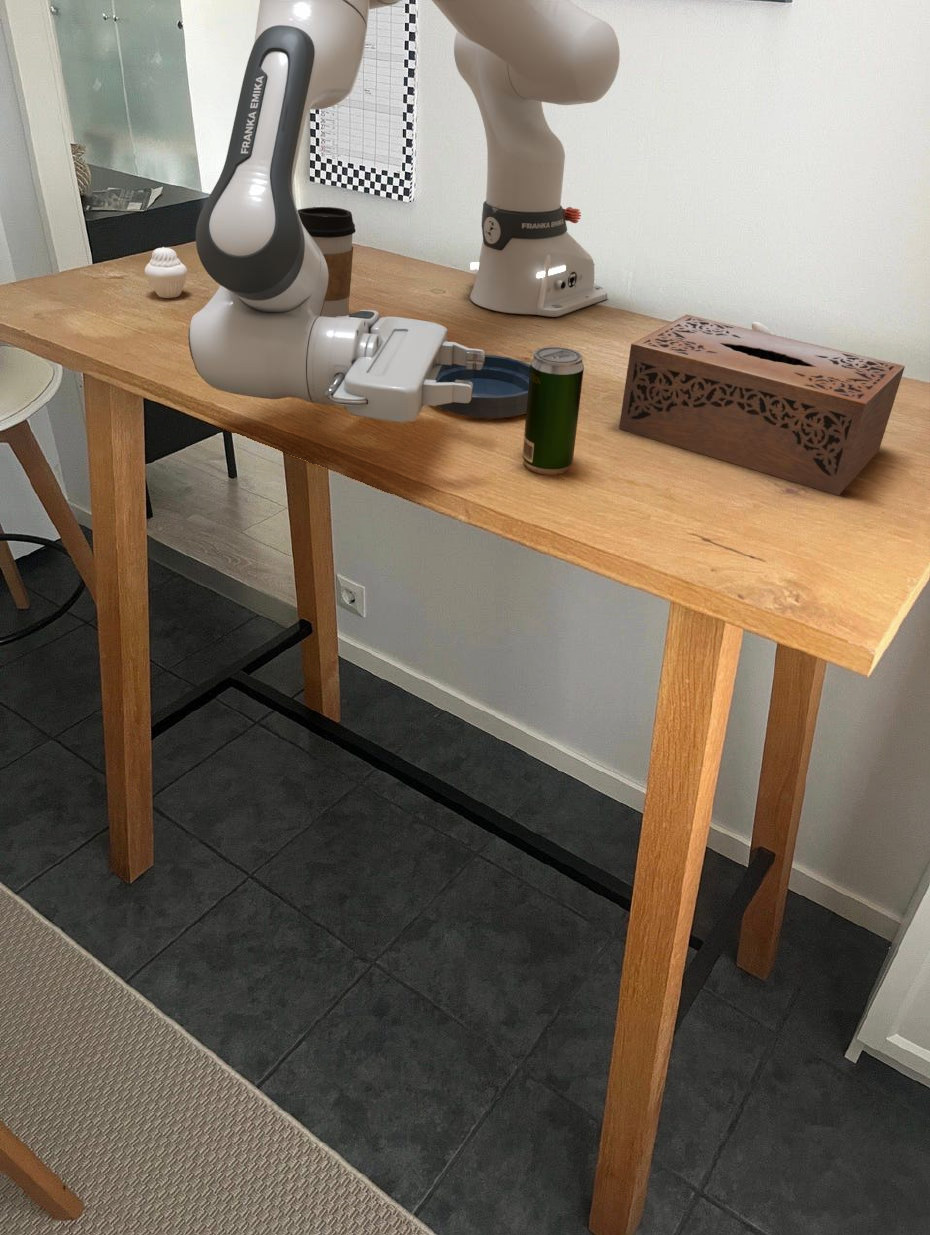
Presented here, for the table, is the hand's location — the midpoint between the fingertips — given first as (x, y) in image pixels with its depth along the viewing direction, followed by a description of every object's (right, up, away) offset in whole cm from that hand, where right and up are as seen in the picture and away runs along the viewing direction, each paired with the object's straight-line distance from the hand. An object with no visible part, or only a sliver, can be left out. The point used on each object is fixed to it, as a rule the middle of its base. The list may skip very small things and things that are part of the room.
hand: (478, 375), depth 100 cm
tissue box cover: (+31, -4, +13) cm, 34 cm away
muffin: (-46, +24, +47) cm, 70 cm away
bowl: (+1, +2, +19) cm, 19 cm away
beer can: (+7, -9, +4) cm, 12 cm away
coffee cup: (-21, +18, +41) cm, 49 cm away
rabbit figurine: (+39, +9, +33) cm, 52 cm away
